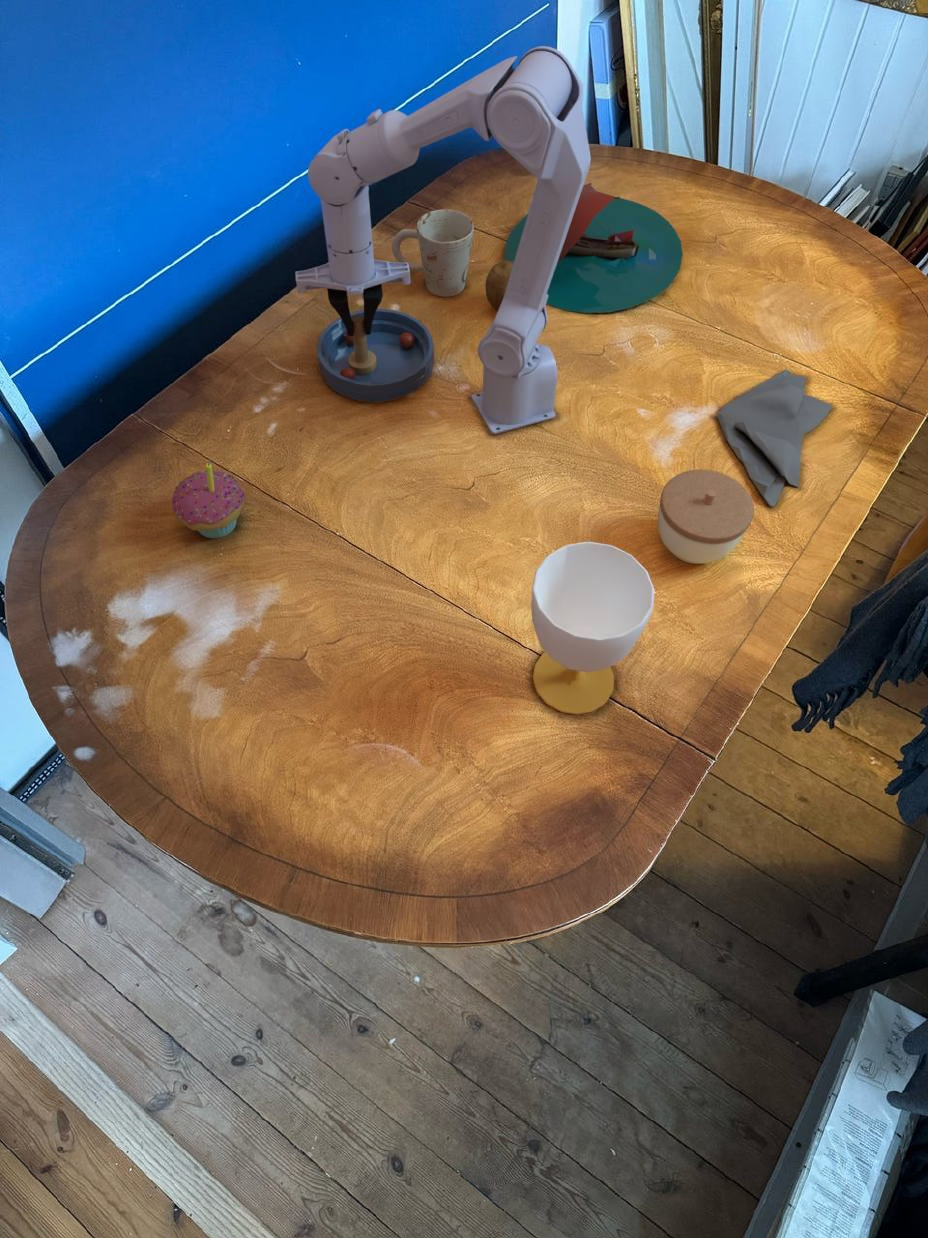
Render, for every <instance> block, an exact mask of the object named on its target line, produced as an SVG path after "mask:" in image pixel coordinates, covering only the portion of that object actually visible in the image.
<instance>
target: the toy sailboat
mask: <svg viewBox="0 0 928 1238" xmlns="http://www.w3.org/2000/svg"><path fill="white" fill-rule="evenodd" d="M527 216H528V213H527V214H525V215H524V216H523V217H522V218H521V219H520V220H519V221H518V222H517V223H516V224H515V226H514V227H513V228H512V229H511V230H510V232H509V233H508V237H507V240H506V242H505V246H504V261H513V262H514V261H515V257H516V254H517V250H518V247H519V243H520V240H521V237H522V233H523V230H524V226H525V223H526V219H527ZM682 260H683V247H682V239H681V238H680V237H679V235H678V233H677V231H676V229H675V227H674V226H673V225H672V224H671V223H670V222H669V221H668V220H667V219H666V218H665V217H664V216H663V215H662V214H660V213H659V212H657V211H656V210H654V209H652V208H650V207H649V206H646V205H644V204H641V203H640V202H639V203H638V202H636V201H632V200H629V199H626V198H622V197H620V196H613V195H611V194H607V193H604V192H601V191H597V190H596V189H595V188H594V187H593V186H592V183H591V182H589V183H586V184H584V185H583V188H582V191H581V194H580V197H579V200H578V203H577V206H576V209H575V212H574V215H573V218H572V221H571V224H570V227H569V230H568V232H567V235H566V238H565V241H564V244H563V247H562V250H561V253H560V256H559V259H558V262H557V265H556V268H555V271H554V274H553V277H552V279H551V282H550V285H549V288H548V291H547V294H548V299H547V302H546V305H548V306H551V307H554V308H557V309H560V310H563V311H568V312H576V313H584V314H596V313H600V314H601V313H603V314H604V313H612V312H617V311H622V310H627V309H630V308H633V307H636V306H639V305H641V304H643V303H645V302H647V301H649V300H652V299H653V298H655V297H657V296H658V295H660V294H661V293H663V292H664V291H665V290H667V288H669V287H670V285H671V284H673V282H674V280H675V278H676V277H677V275H678V273H679V272H680V270H681V266H682Z"/></svg>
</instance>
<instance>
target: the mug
mask: <svg viewBox="0 0 928 1238" xmlns="http://www.w3.org/2000/svg"><path fill="white" fill-rule="evenodd" d="M474 226H475V225H474V221H473V220H472V219H471V217H470V216H468V215H467V214H466V213H463V212H462V211H458V210H454V209H436V210H432V211H429V212H427V213H424V214H423V215H422V216H420V218H419V219H418V221H417V223H416V229H412V228H406V229H405V228H404V229H401V230H400V231H398V232H397V233H396V234H395V235H394V237H393V239H392V242H391V252H392V254H393V257H394V259H396V260H397V263H407V262H408V265H409V270H410V271H416V272H417V271H419V272H423V275H424V280H425V281H424V282H425V285H426V288H427V291H428V292H429V293H431V294H433V295H435V296H437V297H443V298H445V297H446V298H447V297H448V298H449V297H454V296H457V295H458V294H460V293H461V292H463V291H464V289H465V286H466V282H467V276H468V270H469V263H470V257H471V251H472V244H473V238H474V231H475V227H474ZM408 238H409V239H417V240H418V246H419V253H420V258H421V263H422V264H414V263H411V262H410V261H408V260H407V259H406V258H405V257H404V256H403V254H402V251H401V245H402V242H403V241H404V240H406V239H408Z"/></svg>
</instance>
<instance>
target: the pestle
mask: <svg viewBox="0 0 928 1238" xmlns="http://www.w3.org/2000/svg"><path fill="white" fill-rule="evenodd" d="M351 323H352V328H353V341H354V350H355V351H354V352H352V353H351V354H350V355H349V357H348V366H349V368H352V369H353V370H354V371H355V373H356V374H358V375H366V374H369V373H371V372H373V371H374V370H375V369H376V366H377V362H376V356H375V354H374V353H373V352H371V351H369V350H367V340H366V332H365V319H364V316H362V315H360V314H356V315H353V316H352V317H351Z"/></svg>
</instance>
